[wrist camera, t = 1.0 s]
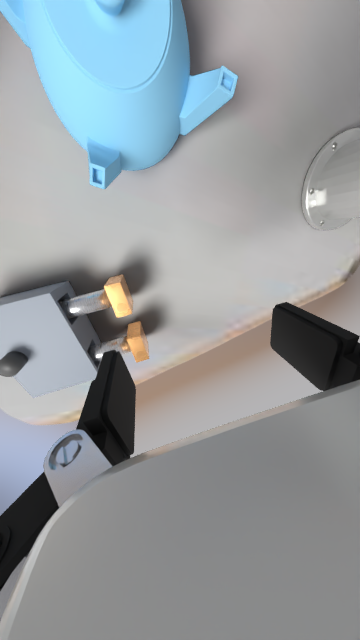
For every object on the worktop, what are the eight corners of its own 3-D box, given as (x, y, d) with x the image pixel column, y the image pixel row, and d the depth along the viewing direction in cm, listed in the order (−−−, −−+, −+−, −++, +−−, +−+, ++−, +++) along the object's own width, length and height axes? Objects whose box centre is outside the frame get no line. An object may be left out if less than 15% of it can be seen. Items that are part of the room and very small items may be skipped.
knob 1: (123, 274, 25) (120, 282, 21) (133, 301, 27) (132, 313, 23) (38, 295, 24) (17, 308, 20) (55, 322, 26) (39, 339, 22)
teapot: (208, 146, 22) (260, 81, 13) (109, 206, 23) (88, 187, 13) (143, -72, 15) (151, -593, 6) (-1, 25, 16) (-215, -297, 6)
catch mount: (68, 280, 26) (40, 298, 18) (106, 353, 32) (97, 387, 25) (-3, 298, 25) (-62, 324, 17) (51, 369, 31) (25, 410, 24)
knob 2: (140, 321, 29) (140, 335, 25) (147, 341, 31) (149, 358, 27) (67, 341, 28) (55, 360, 24) (80, 361, 30) (71, 382, 26)
